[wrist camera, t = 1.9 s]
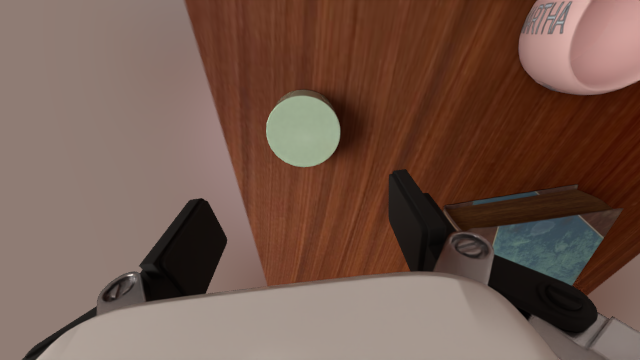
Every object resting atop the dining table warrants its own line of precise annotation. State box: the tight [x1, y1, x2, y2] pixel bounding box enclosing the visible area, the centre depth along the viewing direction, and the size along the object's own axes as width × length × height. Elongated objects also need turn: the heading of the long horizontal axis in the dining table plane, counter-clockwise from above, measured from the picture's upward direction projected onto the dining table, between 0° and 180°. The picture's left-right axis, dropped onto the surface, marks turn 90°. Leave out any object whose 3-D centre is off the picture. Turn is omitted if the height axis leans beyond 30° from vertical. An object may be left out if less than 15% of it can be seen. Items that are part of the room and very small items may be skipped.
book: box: [443, 185, 623, 286], centre depth 33 cm, size 23×18×5 cm
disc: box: [266, 90, 340, 167], centre depth 23 cm, size 7×7×3 cm
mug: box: [518, 0, 640, 95], centre depth 17 cm, size 12×10×6 cm
